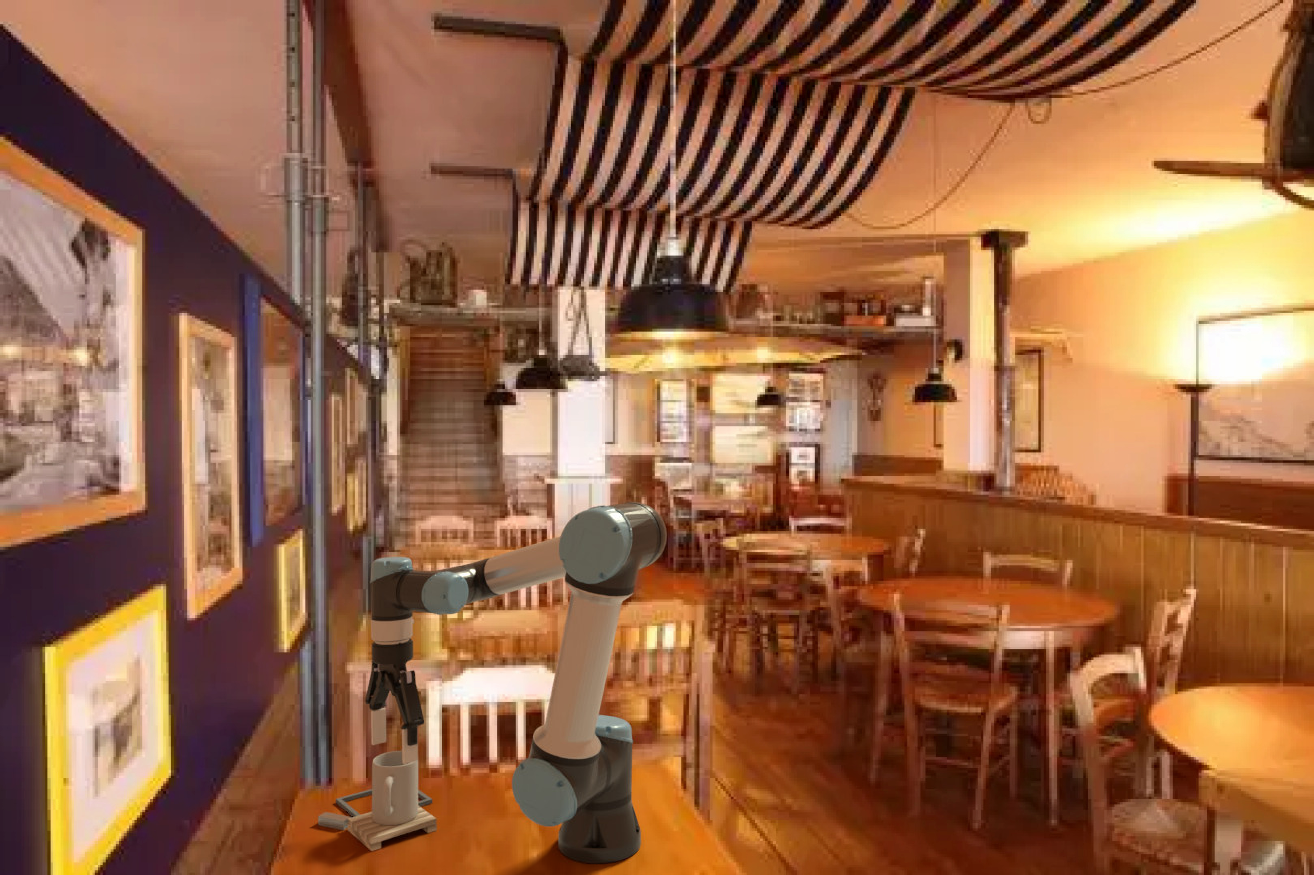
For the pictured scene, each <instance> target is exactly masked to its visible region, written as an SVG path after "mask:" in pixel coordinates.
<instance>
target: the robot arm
mask: <svg viewBox="0 0 1314 875" xmlns="http://www.w3.org/2000/svg"><path fill="white" fill-rule="evenodd" d="M667 536H668V533H667V528H666V524H665V522H664V519H663V518H662V516H661V515H660V513H659V512H657V511H656V509H654V508H653V507H651V506H650V505H648V504H645V503H641V502H640V501H639V502H636V501H629V502H628V501H627V502H623V503H618V504H610V505H604V504H603V505H597V506H593V507H590V508H587V509H584V510H582V511H580V512H579V513H577V514H575V515H574V516H572V517H571V518H570V519H569V521H568V522H567V523H566V524H565V526H564V527H563V529H562V532H561V533H560V536H556V537H554V538H550V539H547V540H544V541H540V542H537V543H534V544H531V545H527V546H524V547H521V548H518V549H515V550H511V551H508V552H504V553H501V554H498V555H494V556H492V557H491V556H490V557H488V558H484V559H481V560H477V561H475V562H470V563H466V564H462V565H456V566H451V567H448V568H443V569H437V570H417V569H416V570H415V569H414V567H413V561H412V560H411V558H410V557H407V556H390V557H389V556H388V557H381V558H380V557H379V558H377V559H375V560H374V561H373V562H372V563H371V568H370V581H369V584H370V604H371V606H370V607H371V608H370V609H371V610H370V611H371V615H370V616H371V619H370V629H371V631H370V636H371V638H370V639H371V640H372V641H373V642H372V643H371V671H370V675H369V681H368V686H367V690H366V696H365V700H364V702H365V704H366V705H368V707H369V709H370V723H371V724H370V726H371V727H370V732H371V734H370V736H371V737H370V738H371V740H370V741H371V745H372V746H375V745H379V744H384V743H387V708H386V707H387V702H386V701H387V699H388V696H389V694H391V696H392V697H395V701H396V704H397V707H398V709H399V714H400V716H401V720H402V723H403V724H402V725H401V727H400V728H401V740H402V741H401V744H402V745H401V747H402V748H401V751H402V763H403V764H406V763H410V762H414V761H417V760H418V761H419V740H418V739H419V736H418V733H419V732H418V731H419V730H418V728H419V727H420V726H421V725H424V724H425V718H424V714H423V709H422V705H421V701H420V697H419V696H420V695H419V691H418V687H417V680H416V672H415V670H413V669H412V670H409V671H408V670H407V663H408V662H410V661H411V660H412V659H413V658H414V640H412V637H413V635H414V634H413V627H414V626H413V625H414V624H415V620H414V619H413V617H414V616H413V614H414V613H413V612H418V613H419V612H421V613H425V614H426V613H427V614H434V615H438V616H442V615H454V614H457V613H459V612H461V609H462V608H463V607H465V605H466V606H467V605H469V604H472V603H475V602H480V601H484V600H489V599H492V598H494V597H498V596H501V595H504V594H509V593H512V592H516V591H519V590H523V589H526V588H530V587H534V586H537V585H540V584H541V585H542V584H545V583H548V582H552V581H557V580H559V579H563V578H564V583H565V584H566V585H567V587H568V588H569V590H570V592H571V593H570V596H569V597H570V598H569V602H568V609H567V613H566V618H565V623H564V628H563V633H562V638H561V641H560V642H561V643H560V647H559V653H558V657H557V663H556V668H555V672H554V677H553V682H552V686H551V692H550V697H549V700H548V701H549V703H548V705H547V706H548V707H547V712H546V716H545V721H544V724H543V725H541V726H539V727H537V728H536V729H535V731H534V732H533V736H532V741H531V746H530V751H529V754H528V758H525V759H524V760H522V761H521V762H520V763H519V765H518V766H517V767H516V768H515V770H514V772H513V775H512V779H511V788H512V789H511V790H512V793H513V797H514V800H515V803H517V805H518V806H519V809H520V811H521V813H523V815H524V816H525V817H527V819H529V820H530V821H531V822H533V823H535V824H537V825H539V826H543V827H556V826H558V825H559V826H560V825H561V826H560V827H559V830H558V836H557V837H558V841H557V843H558V846H557V847H558V849H559V851H560V853H562V854H563V855H564V856H565V857H567V858H569V859H571V860H573V861H577V862H581V863H587V864H609V863H615V862H618V861H622V860H624V859H627V858H630V857H631V856H633V855H634V854H636V853H637V852H638V851H639V849H640V848H641V844H642V840H641V839H642V838H641V836H642V835H641V833H642V832H641V827H640V825H639V820H638V817H637V815H636V810H635V808H634V806H633V805H634V804H633V801H632V798H633V797H632V793H633V792H632V787H633V786H632V785H633V783H632V781H633V744H634V740H633V736H632V735H633V734H632V733H633V732H632V726H631V724H630V723H629V722H628V721H627V720H625V719H623V718H620V717H616V716H612V715H611V716H610V715H603V714H600V711H601V710H600V709H601V705H602V702H603V701H602V700H603V695H604V690H605V686H606V680H607V676H608V671H609V667H610V663H611V662H610V661H611V658H612V652H613V647H614V644H615V643H614V642H615V638H616V633H617V627H618V623H619V619H620V616H621V608H622V605H623V601H625V600H627V599H628V598H630V597H631V596H632V595H633V594H634V591H635V586H636V582H637V577H638V572H639V570H641V569H644V568H646V567H649V566H650V565H652V564H654V563H655V562H656V561H657V560H658V559H659V558H660V557H661V555H662V554H663V552H664V550H665V547H666V545H667V540H668V539H667Z"/></svg>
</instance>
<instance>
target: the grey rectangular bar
mask: <svg viewBox="0 0 1314 875" xmlns="http://www.w3.org/2000/svg"><path fill="white" fill-rule="evenodd" d="M317 817H318V818H317V819H318V820H317V825H318V826H320V827H326V828H331V829H335V830H340V831H345V830H347V829H346V828H347V824H348V818H351V817H352V816H350V815H349V816H347V815H343V814H337V813H334V812H328V811H327V812H326V811H325V812H322V813H321V814H319V815H318V816H317Z"/></svg>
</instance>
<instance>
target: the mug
mask: <svg viewBox="0 0 1314 875" xmlns="http://www.w3.org/2000/svg"><path fill="white" fill-rule="evenodd" d="M371 776H372V777H371V780H372V781H371V789H372V794H371V812H372V820H373V821H374V822H375V823H377V824H380V825H388V826H390V825H399V824H404V823H407V822H409V821H411V820H413V819H414V818H416V816H417V815H418V801H419V797H418V790H419V759H418V760H417V761H414V762H410V763H406V764H403V763H402V750H395V751H388V752H384V753H381V754H379V755H377V756H375V757H373V759H372V765H371Z"/></svg>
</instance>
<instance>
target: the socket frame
mask: <svg viewBox="0 0 1314 875" xmlns="http://www.w3.org/2000/svg"><path fill="white" fill-rule="evenodd" d="M370 795H371V796H372V788H371V789H367V790H363V791H360V792H357V793H356V792H355V793H352V794H348V795H345V796H341V797H338V798H335V803H336V805H338V806H339V807H340V808H342V809H343V810H344V811H345V812H346V811H347V812H348V813H347V812H346V813H347V814H349V816H350V817H352V816H353V817H355V816H358V815H361V814H360V813H359V812H358V811H357V810H355V809H354V808H353V807H352V806H351V805H349V804H348V803H347V802H350V801H353V799H354V800H356V799H355V798H357V799H360V797H361V798H364V797H366V796H370ZM418 799H421V800H418V806H420V807H421V808H422V807H424V806H428V805H431V804H433V798H431V797H430V796H428V795H427V794H425V793H424V792H423V791H421V790H420V789H418ZM349 800H350V801H349Z"/></svg>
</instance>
